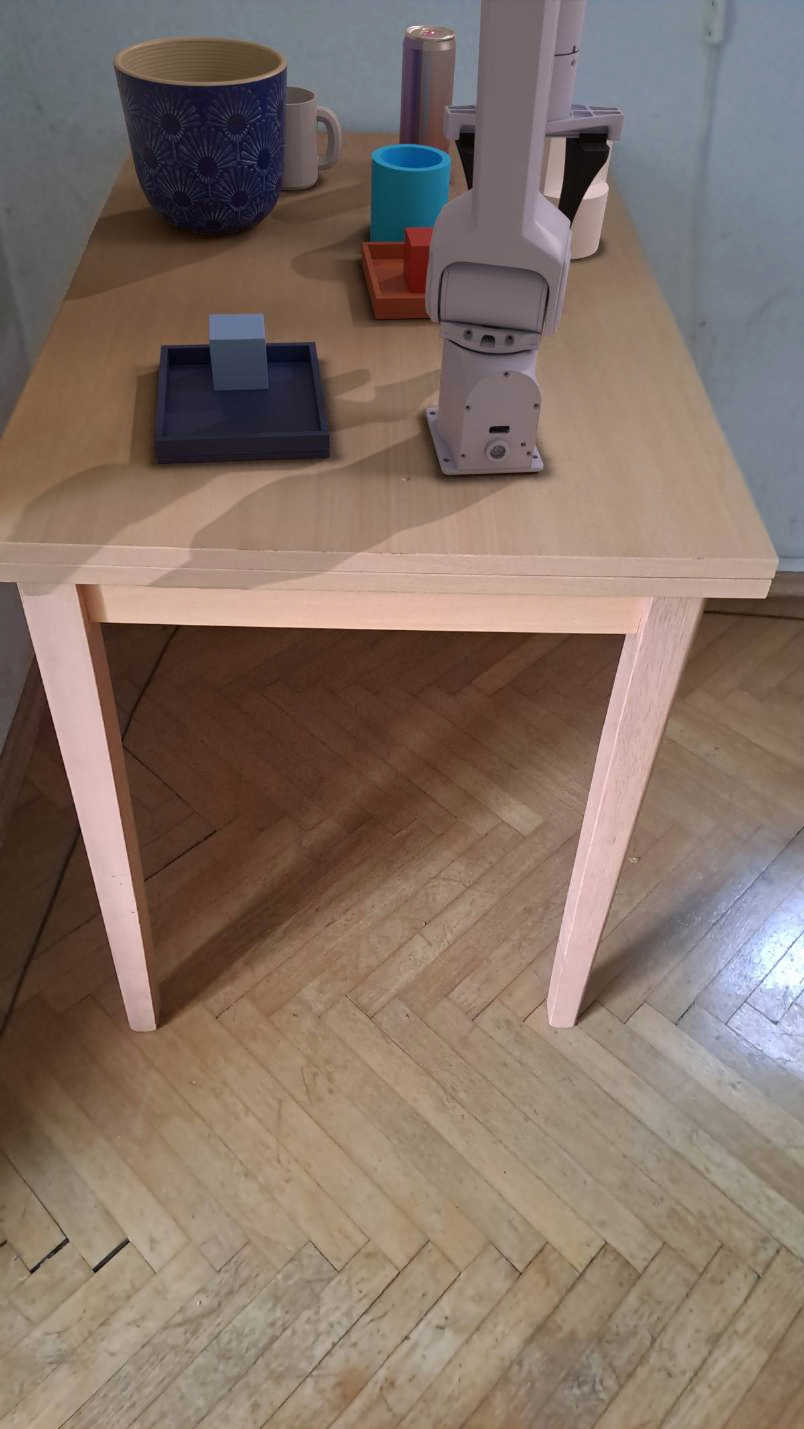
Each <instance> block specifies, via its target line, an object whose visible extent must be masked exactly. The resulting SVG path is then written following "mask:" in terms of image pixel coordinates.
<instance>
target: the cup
mask: <svg viewBox="0 0 804 1429" xmlns="http://www.w3.org/2000/svg"><path fill="white" fill-rule="evenodd" d="M318 122H319V123H323V124H324V127H325V128H326V132H327V133H326V134H327V146H326V150H325V153H323V155H319V131H318ZM342 137H343V134H342V128H341V123H340V122H339V120H338V117H337V115H336V114H335V113H334V112H333V111H332V110H331V109H330V108H328V107H326V106H323V105H318V95H317V93H316V92H315V91H313V90H311V89H308V88H305V87H303V86H294V85H287V98H286V139H285V170H284V179H283V185H282V189H281V191H301V190H305V189H308V188H311V187H313V186H314V185H316V183H317V181H318V179H319V172H320V171H326V170H329V169H331V168H332V167H333V166H334V165H335V164H336V163H337V161H338V160H339V157H340V155H341V151H342V145H343V144H342V143H343V140H342V139H343V138H342Z"/></svg>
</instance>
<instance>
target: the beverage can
mask: <svg viewBox="0 0 804 1429" xmlns="http://www.w3.org/2000/svg"><path fill="white" fill-rule="evenodd" d="M456 55H457V41H456V31H454V30H453V29H451V28H448V27H446V26H445V27H444V26H440V25H431V24H430V25H429V24H427V25H426V24H423V25H422V24H421V25H413V26H409V27H407V28H406V29H405V30H404V38H403V41H402V59H401V60H402V61H401V83H400V84H401V87H400V113H399V141H398V142H399V143H398V144H416V145H423V146H429V147H433V148H437V149H439V150H441V151H444V152H445V153H447V154H448V155H449V154H450V141H451V140H447V139H446V137H445V136H444V133H443V122H444V107H445V106H453V100H454V99H453V98H454V97H453V96H454V83H455V69H456V68H455V67H456V57H457V56H456ZM449 156H450V155H449Z"/></svg>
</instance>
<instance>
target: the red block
mask: <svg viewBox="0 0 804 1429" xmlns="http://www.w3.org/2000/svg"><path fill="white" fill-rule="evenodd" d="M433 229H434V227H413V228H405V241H404V264H403V275H404V278H405V281H406V284H407V287H408V291H409V293H425V292H426V279H427V270H428V263H429V250H430V243H431V238H432V233H433Z"/></svg>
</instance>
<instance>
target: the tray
mask: <svg viewBox="0 0 804 1429" xmlns="http://www.w3.org/2000/svg"><path fill="white" fill-rule="evenodd" d="M360 244H361V246H360V262H361V267H362V271H363V274H364V278H365V283H366V287H367V291H368V294H369V298H370V302H371V306H372V310H373V314H374V318H375V320H389V319H390V320H394V319H395V320H397V319H431V318H430V317H429V315H428V314H427V312H426V307H425V293H409V291H408V287H407V284H406V281H405V278H404V275H403V264H404V242H371V241H361V243H360Z"/></svg>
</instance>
